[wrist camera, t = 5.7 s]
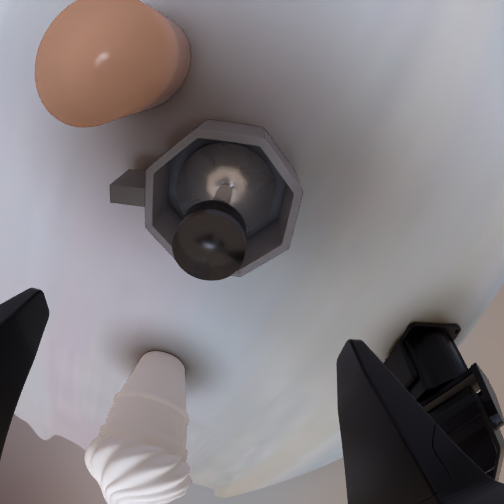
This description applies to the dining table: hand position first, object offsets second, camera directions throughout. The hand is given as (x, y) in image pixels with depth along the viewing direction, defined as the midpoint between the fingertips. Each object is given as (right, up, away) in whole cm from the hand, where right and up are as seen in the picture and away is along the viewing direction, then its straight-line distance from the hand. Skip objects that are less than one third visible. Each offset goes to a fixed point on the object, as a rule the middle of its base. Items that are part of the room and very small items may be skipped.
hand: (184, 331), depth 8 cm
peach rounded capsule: (-5, +13, +6) cm, 15 cm away
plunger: (0, +6, +10) cm, 11 cm away
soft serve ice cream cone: (-7, -8, +19) cm, 22 cm away
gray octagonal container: (-1, +6, +10) cm, 12 cm away
